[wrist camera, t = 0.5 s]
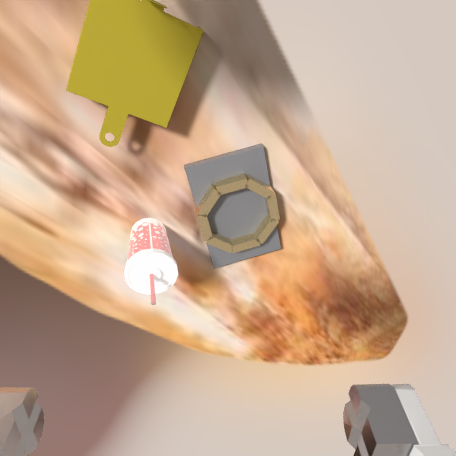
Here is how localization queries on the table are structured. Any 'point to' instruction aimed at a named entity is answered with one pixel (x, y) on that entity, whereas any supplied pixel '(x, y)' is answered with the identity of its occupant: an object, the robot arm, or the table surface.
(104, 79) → the bracket
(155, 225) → the beverage cup
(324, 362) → the table surface
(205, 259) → the table surface
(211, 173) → the board
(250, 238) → the socket
